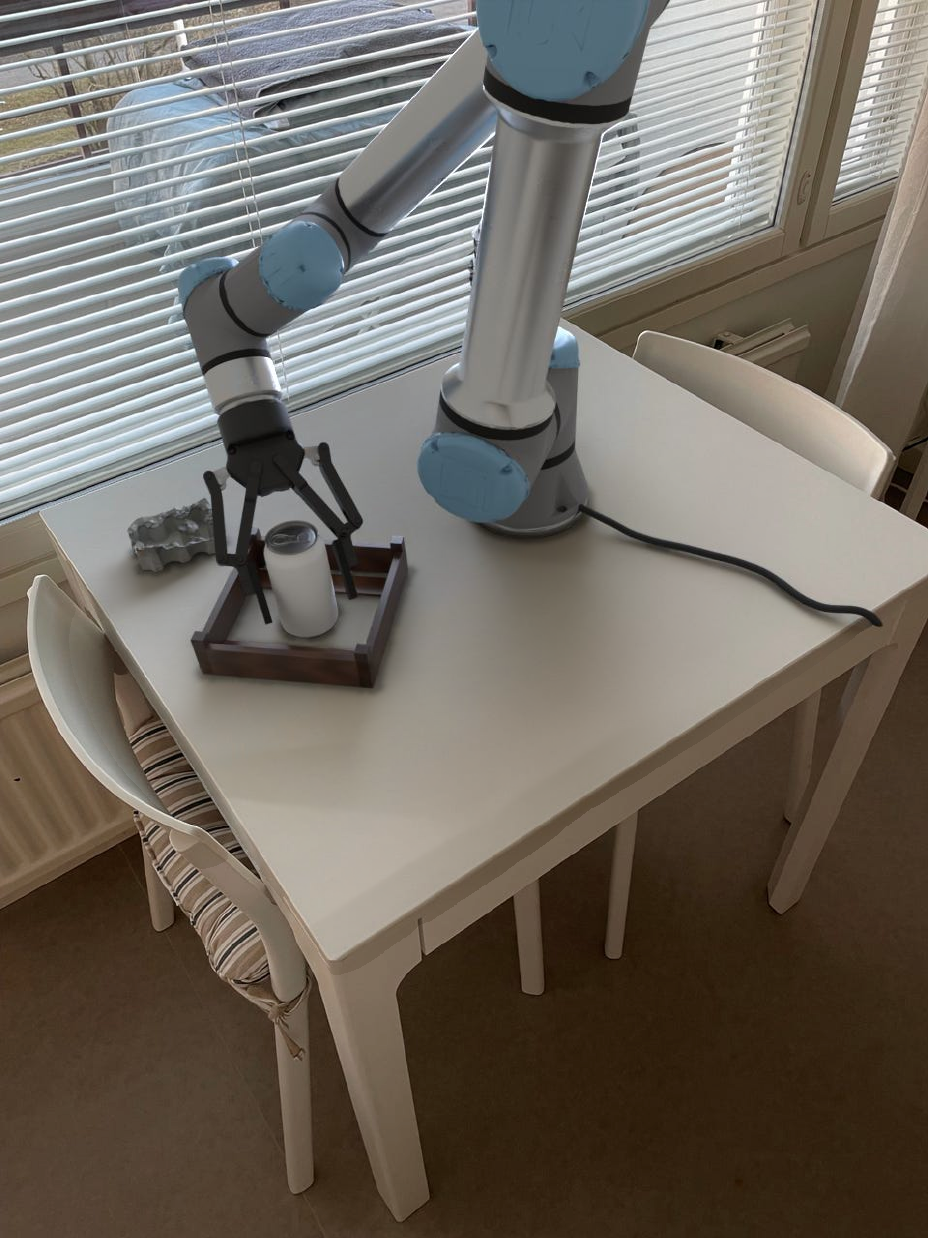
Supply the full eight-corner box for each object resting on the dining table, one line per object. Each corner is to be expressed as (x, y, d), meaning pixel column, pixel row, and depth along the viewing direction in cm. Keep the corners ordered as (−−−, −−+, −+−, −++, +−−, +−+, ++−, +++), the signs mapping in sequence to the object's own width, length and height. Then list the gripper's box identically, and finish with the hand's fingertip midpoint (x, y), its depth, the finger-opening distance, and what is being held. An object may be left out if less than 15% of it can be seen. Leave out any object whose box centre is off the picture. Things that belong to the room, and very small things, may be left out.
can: (283, 602, 107) (262, 520, 99) (339, 597, 108) (323, 514, 99) (280, 642, 103) (257, 559, 94) (338, 637, 103) (321, 553, 95)
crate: (408, 570, 110) (404, 536, 107) (373, 688, 97) (366, 654, 94) (256, 560, 113) (247, 526, 110) (202, 674, 100) (190, 640, 96)
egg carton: (142, 578, 112) (131, 552, 109) (131, 542, 117) (121, 516, 114) (228, 551, 115) (221, 525, 112) (215, 517, 120) (207, 492, 117)
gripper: (342, 395, 106) (400, 586, 106) (152, 441, 101) (213, 640, 101) (349, 375, 99) (411, 579, 99) (145, 423, 94) (210, 638, 94)
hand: (311, 610), depth 100 cm, fingers open, 9 cm apart
